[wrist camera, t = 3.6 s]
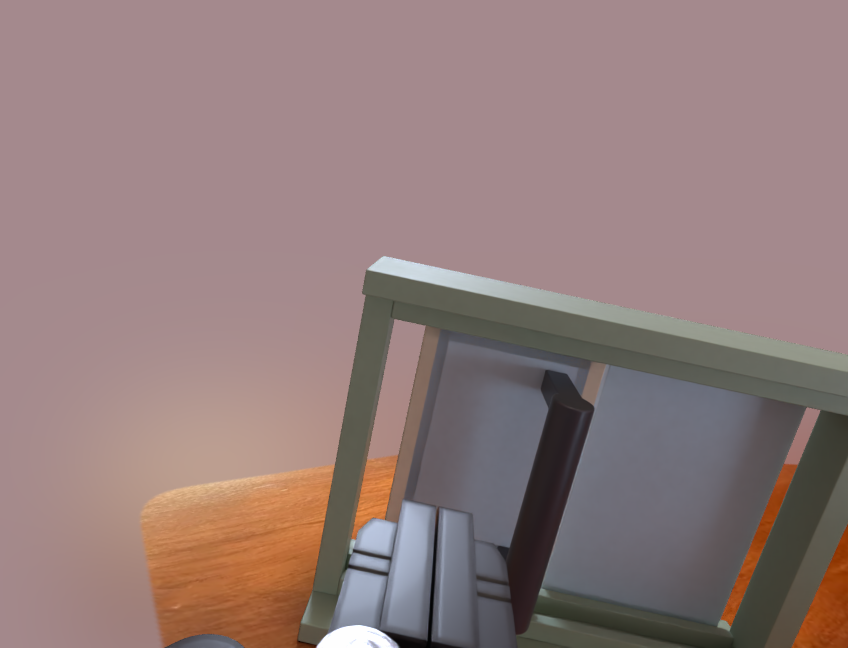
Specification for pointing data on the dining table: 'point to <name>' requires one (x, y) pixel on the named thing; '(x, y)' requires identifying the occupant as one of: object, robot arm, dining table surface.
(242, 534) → the dining table surface
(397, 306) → the window frame
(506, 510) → the sash
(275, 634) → the dining table surface
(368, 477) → the dining table surface
